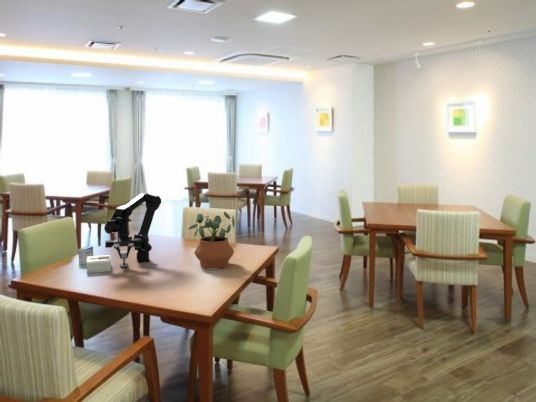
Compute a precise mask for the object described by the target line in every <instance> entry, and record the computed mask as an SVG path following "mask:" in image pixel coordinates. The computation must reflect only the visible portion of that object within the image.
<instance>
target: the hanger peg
mask: <svg viewBox="0 0 536 402" xmlns="http://www.w3.org/2000/svg"><path fill="white" fill-rule="evenodd" d="M120 253H121V259H120V260H122V263H120V265H119V267H120V268H127V267H129V263H126V260H127V259H128V258H127V250H120Z"/></svg>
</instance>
